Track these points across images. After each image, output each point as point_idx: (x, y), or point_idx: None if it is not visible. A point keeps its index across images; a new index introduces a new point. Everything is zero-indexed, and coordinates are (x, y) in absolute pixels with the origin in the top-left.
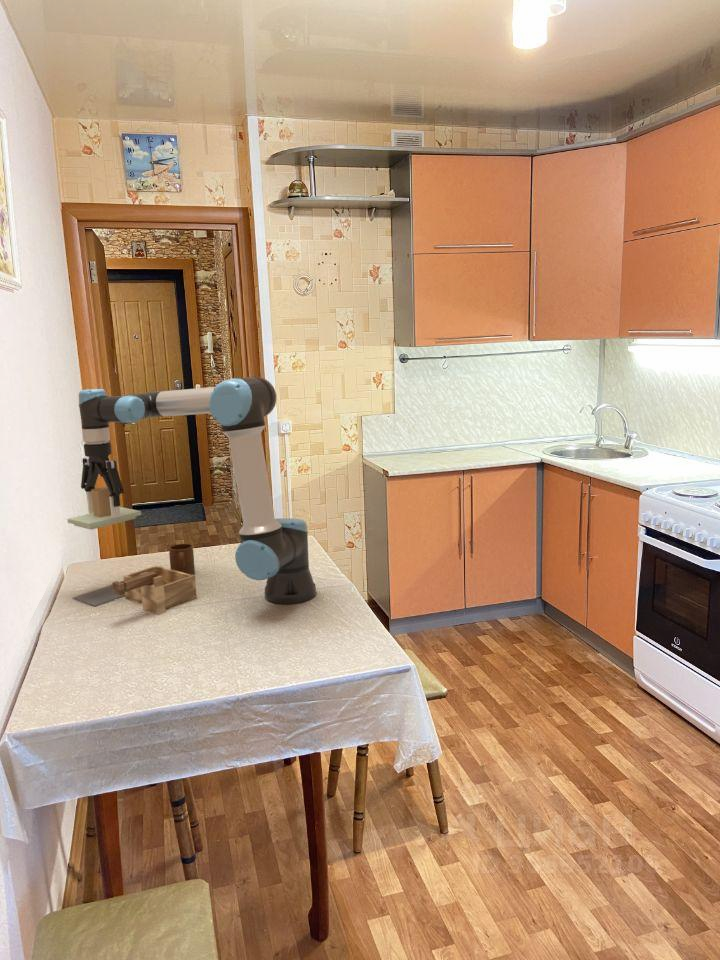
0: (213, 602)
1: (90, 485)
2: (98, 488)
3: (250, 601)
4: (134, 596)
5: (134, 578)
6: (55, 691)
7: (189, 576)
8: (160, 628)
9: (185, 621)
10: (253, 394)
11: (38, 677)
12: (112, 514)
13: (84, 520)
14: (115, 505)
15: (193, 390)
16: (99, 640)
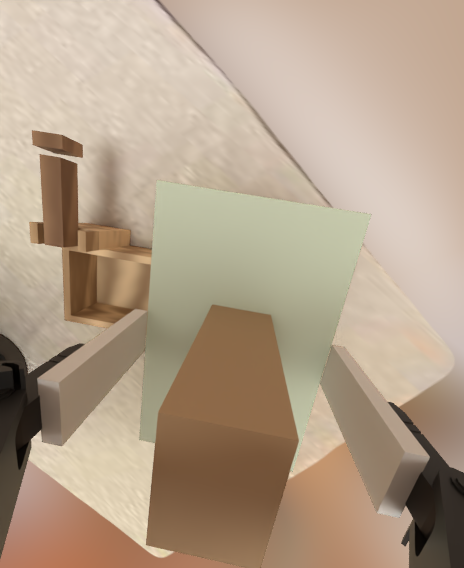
0: (59, 300)
1: (433, 559)
2: (263, 500)
3: (18, 323)
4: None
5: (51, 190)
6: None
7: (69, 312)
8: (37, 178)
9: (30, 219)
10: None
11: None
12: (126, 315)
13: (240, 225)
14: (73, 347)
15: None
16: (76, 84)
